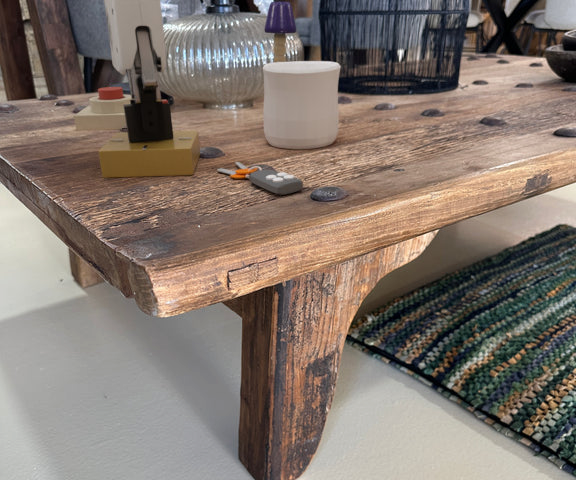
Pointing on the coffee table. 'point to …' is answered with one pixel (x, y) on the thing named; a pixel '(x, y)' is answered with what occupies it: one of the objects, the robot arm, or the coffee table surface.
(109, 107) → the box
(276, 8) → the toy lamp
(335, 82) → the cup
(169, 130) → the lock turn
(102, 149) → the plate
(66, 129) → the coffee table surface
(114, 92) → the release button
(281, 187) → the key chain
